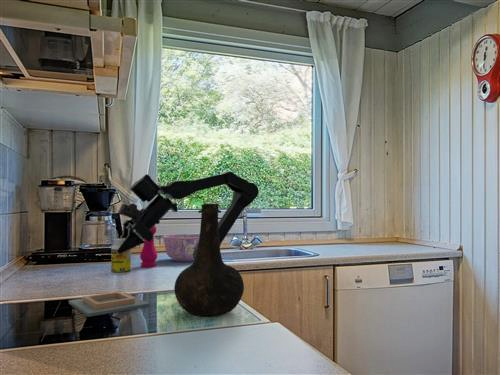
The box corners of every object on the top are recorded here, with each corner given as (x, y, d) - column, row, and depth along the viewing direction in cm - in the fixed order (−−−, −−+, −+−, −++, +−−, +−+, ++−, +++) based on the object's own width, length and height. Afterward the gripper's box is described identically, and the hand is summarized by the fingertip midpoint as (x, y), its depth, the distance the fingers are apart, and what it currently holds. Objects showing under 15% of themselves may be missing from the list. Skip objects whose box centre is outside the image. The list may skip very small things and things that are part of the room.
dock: (125, 295, 119) (125, 288, 119) (149, 306, 107) (149, 298, 107) (68, 303, 109) (68, 296, 109) (88, 316, 97) (88, 308, 97)
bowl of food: (194, 264, 177) (194, 238, 178) (154, 262, 183) (154, 237, 183) (210, 258, 197) (211, 235, 197) (173, 256, 202) (174, 233, 202)
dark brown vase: (218, 328, 90) (220, 203, 91) (158, 315, 98) (160, 202, 99) (256, 309, 105) (257, 203, 106) (201, 300, 114) (203, 202, 115)
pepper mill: (152, 268, 167) (153, 220, 167) (136, 267, 168) (137, 220, 169) (159, 265, 174) (160, 219, 174) (144, 264, 175) (145, 219, 176)
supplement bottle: (107, 275, 115) (107, 239, 115) (118, 271, 121) (118, 237, 121) (123, 276, 114) (123, 240, 114) (134, 272, 119) (134, 238, 119)
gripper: (129, 194, 128) (92, 230, 122) (141, 193, 111) (99, 235, 106) (153, 218, 131) (118, 254, 126) (169, 221, 115) (130, 262, 109)
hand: (116, 251), depth 117 cm, fingers closed on supplement bottle, 5 cm apart
